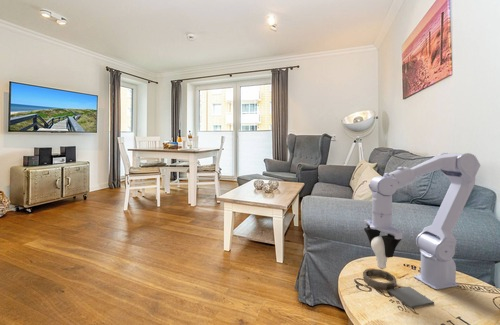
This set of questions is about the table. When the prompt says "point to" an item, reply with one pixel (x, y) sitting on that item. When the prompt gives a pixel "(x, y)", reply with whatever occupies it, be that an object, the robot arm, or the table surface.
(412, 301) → the mat
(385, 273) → the collar
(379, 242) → the lightbulb
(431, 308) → the table surface
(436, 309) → the table surface
